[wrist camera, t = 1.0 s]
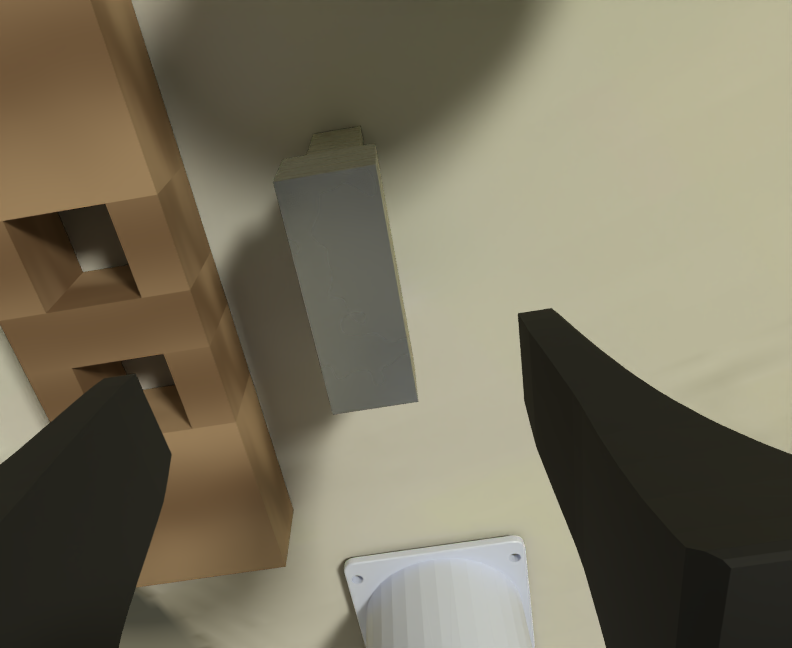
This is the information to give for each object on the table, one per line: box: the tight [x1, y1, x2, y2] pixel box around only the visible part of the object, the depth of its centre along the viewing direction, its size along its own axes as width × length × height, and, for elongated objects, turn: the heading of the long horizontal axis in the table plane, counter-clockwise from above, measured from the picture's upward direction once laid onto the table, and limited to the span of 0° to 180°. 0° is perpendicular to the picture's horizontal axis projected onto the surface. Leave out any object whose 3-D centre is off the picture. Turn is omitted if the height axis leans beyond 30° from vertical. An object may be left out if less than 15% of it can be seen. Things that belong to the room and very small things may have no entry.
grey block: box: [273, 126, 418, 415], centre depth 20 cm, size 7×2×6 cm, turn 9°
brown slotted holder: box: [0, 0, 293, 587], centre depth 22 cm, size 22×6×3 cm, turn 9°
